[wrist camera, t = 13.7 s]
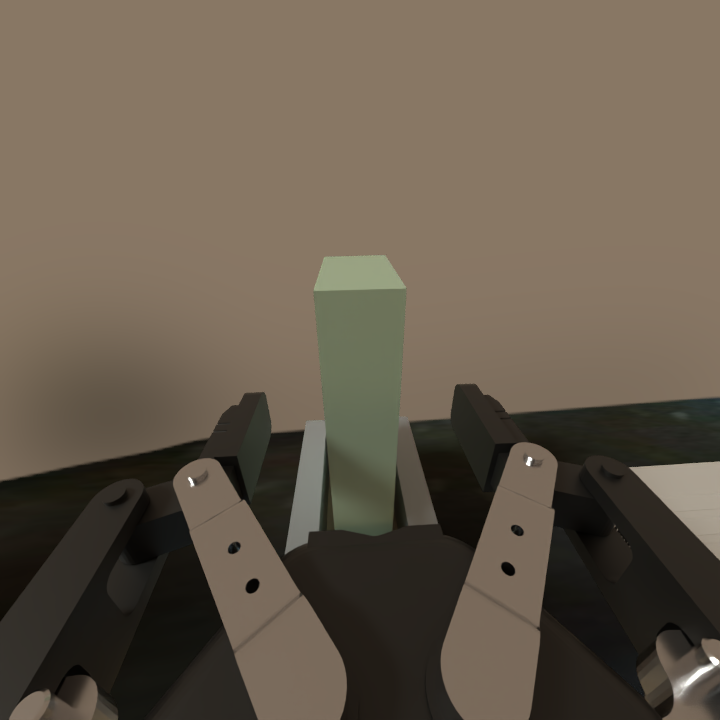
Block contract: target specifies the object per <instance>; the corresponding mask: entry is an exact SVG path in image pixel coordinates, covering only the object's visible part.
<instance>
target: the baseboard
mask: <svg viewBox="0 0 720 720" xmlns="http://www.w3.org/2000/svg"><path fill="white" fill-rule="evenodd" d="M630 469H631V470H632V471H633V472H634V473H635V474H636V475H637V476H638V477H639V478H640V479H641V480H642V481H643V482H644V483H645V484H646V485H647V486H648V487H649V488H650V489H651V490H652V491H653V492H654V493H655V494H656V495H657V496H658V497H659V498H660V499H661V500H662V501H663V502H664V503H665V504H666V506H667V507H668V508H669V509H670V510H671V511H672V512H673V513H674V514H675V515H676V516H677V517H678V518H679V519H680V520H681V521H682V522H683V523H684V524H685V525H686V526H687V527H688V528H689V529H690V530H691V531H692V532H693V533H694V534H695V535H696V536H697V537H698V538H699V539H700V541H701V542H702V543H703V544H704V545H705V546H706V547H707V548H708V549H709V550H710V551H711V552H712V553H713V554H714V555H715V556H716V557H717V558H718V559H719V560H720V462H707V463H691V464H676V465H661V466H645V467H630ZM615 529H616V530H617V531H618V533H619V534H620V535H621V537H622V538H623V539H624V540H625V542H626V543H627V544H628V546H629V547H630V545H629V543H628V542H627V540H626V539H625V538H624V536H623V535H622V534H621V532H620V531H619V530H618V528H617V527H616V526H615ZM630 548H631V547H630Z"/></svg>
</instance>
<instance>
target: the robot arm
mask: <svg viewBox="0 0 720 720" xmlns="http://www.w3.org/2000/svg"><path fill="white" fill-rule="evenodd" d="M451 424H452V427H453V430H454V432H455V434H456V436H457V438H458V440H459V442H460V445H461V447H462V449H463V451H464V453H465V455H466V457H467V459H468V461H469V464H470V466H471V468H472V470H473V472H474V474H475V476H476V478H477V480H478V483H479V485H480V487H481V489H482V491H483V492H493V491H494V492H495V496H494V499H493V502H492V504H491V507H490V510H489V513H488V516H487V519H486V522H485V525H484V528H483V531H482V534H481V537H480V539H479V542H478V545H477V548H476V549H474V548H473V547H472V546H470V545H468V544H466V543H465V542H463V541H461V540H458V539H456V538H453V537H450V536H446V535H443V533H442V529H441V526H440V524H427V525H411V526H406V527H403V528H400V529H397V530H394V531H391V532H388V533H385V534H382V535H378V536H371V535H366V534H361V533H356V532H351V531H346V530H328V531H311V532H309V535H308V543H306V544H303V545H301V546H298V547H296V548H294V549H293V550H291V551H289V552H288V553H286V554H285V555H284V556H282V557H281V558H279V556H278V555H277V553H276V551H275V550H274V548H273V546H272V545H271V543H270V541H269V540H268V538H267V536H266V534H265V533H264V531H263V529H262V528H261V526H260V524H259V523H258V521H257V519H256V518H255V516H254V514H253V513H252V511H251V509H250V508H249V506H248V504H251V501H252V498H253V494H254V491H255V487H256V484H257V480H258V477H259V474H260V470H261V467H262V463H263V460H264V457H265V453H266V450H267V446H268V443H269V439H270V436H271V420H270V415H269V409H268V404H267V399H266V395H265V393H264V392H256V393H245V394H244V396H243V398H242V400H241V402H240V404H239V405H234V406H231V407H230V408H229V409H228V410H227V411H225V412H224V413H223V414H222V416H221V418H220V420H219V421H218V425H216V427H215V429H214V432H213V433H212V435H211V436H210V438H209V440H208V442H207V444H206V445H205V447H204V449H203V451H202V453H201V455H200V457H199V458H198V460H196V461H193V462H191V463H189V464H187V465H186V466H184V467H183V468H182V469H181V470H180V471H179V472H178V473H177V474H176V476H175V478H174V480H171V481H168V482H165V483H161V484H158V485H155V486H151V487H148V488H145V487H144V485H143V483H142V482H141V481H139V480H137V479H125V480H121V481H118V482H115V483H113V484H111V485H109V486H107V487H106V488H104V489H103V490H101V491H100V492H99V493H98V494H96V495H95V496H94V497H93V499H92V500H91V501H90V502H89V504H88V505H87V506H86V508H85V509H84V510H83V512H82V513H81V514H80V516H79V517H78V518H77V520H76V521H75V522H74V524H73V525H72V526H71V528H70V529H69V530H68V532H67V533H66V534H65V536H64V537H63V538H62V540H61V541H60V543H59V544H58V545H57V547H56V548H55V549H54V551H53V552H52V553H51V555H50V556H49V557H48V559H47V560H46V561H45V563H44V564H43V565H42V567H41V568H40V569H39V571H38V572H37V573H36V575H35V576H34V577H33V579H32V580H31V581H30V583H29V584H28V585H27V587H26V588H25V589H24V591H23V592H22V593H21V595H20V596H19V597H18V599H17V600H16V601H15V603H14V604H13V605H12V607H11V608H10V609H9V611H8V612H7V613H6V615H5V616H4V617H3V619H2V620H1V622H0V720H118V707H117V703H116V701H115V699H114V698H113V697H112V696H111V695H110V691H111V689H112V687H113V684H114V682H115V679H116V677H117V675H118V672H119V670H120V668H121V665H122V663H123V660H124V658H125V656H126V653H127V651H128V649H129V646H130V644H131V641H132V639H133V637H134V634H135V632H136V630H137V627H138V625H139V622H140V620H141V618H142V615H143V613H144V611H145V608H146V606H147V603H148V601H149V599H150V596H151V594H152V592H153V589H154V587H155V584H156V582H157V580H158V577H159V575H160V573H161V570H162V568H163V565H164V563H165V561H166V558H167V556H168V554H169V552H171V551H174V550H177V549H179V548H182V547H185V546H188V545H190V544H193V543H194V546H195V549H196V551H197V554H198V557H199V559H200V562H201V565H202V567H203V570H204V573H205V575H206V578H207V581H208V584H209V586H210V589H211V592H212V594H213V597H214V600H215V602H216V605H217V608H218V611H219V613H220V616H221V619H222V621H223V625H222V626H221V627H220V628H219V630H218V631H217V632H216V633H215V634H214V635H213V637H212V638H211V639H210V640H209V641H208V643H207V644H206V645H205V646H204V647H203V649H202V650H201V651H200V652H199V653H198V655H197V656H196V657H195V658H194V659H193V661H192V662H191V663H190V664H189V665H188V666H187V668H186V669H185V670H184V671H183V672H182V674H181V675H180V676H179V677H178V678H177V680H176V681H175V682H174V683H173V684H172V686H171V687H170V688H169V689H168V690H167V691H166V693H165V694H164V695H163V696H162V697H161V699H160V700H159V701H158V702H157V703H156V705H155V706H154V707H153V708H152V709H151V711H150V712H149V713H148V714H147V715H146V717H145V718H144V719H143V720H720V560H719V559H718V558H717V557H716V556H715V555H714V554H713V553H712V552H711V551H710V550H709V549H708V548H707V547H706V546H705V545H704V544H703V543H702V542H701V541H700V539H699V538H698V537H697V536H696V535H695V534H694V533H693V532H692V531H691V530H690V529H689V528H688V527H687V526H686V525H685V524H684V523H683V522H682V521H681V520H680V519H679V518H678V517H677V516H676V515H675V514H674V513H673V512H672V511H671V510H670V509H669V508H668V507H667V506H666V504H665V503H664V502H663V501H662V500H661V499H660V498H659V497H658V496H657V495H656V494H655V493H654V492H653V491H652V490H651V489H650V488H649V487H648V486H647V485H646V484H645V483H644V482H643V481H642V480H641V479H640V478H639V477H638V476H637V475H636V474H635V473H634V472H633V471H632V470H631V469H630V468H629V467H627V466H626V465H624V464H623V463H621V462H619V461H617V460H615V459H612V458H609V457H606V456H599V455H595V456H590V457H588V458H587V459H586V460H585V463H584V465H583V466H582V465H577V464H571V463H566V462H561V461H557V460H556V458H555V457H554V456H553V455H552V454H551V453H550V452H549V451H548V450H546V449H545V448H543V447H541V446H539V445H536V444H533V443H529V441H528V440H527V439H526V437H525V436H524V435H523V433H522V432H521V431H520V429H519V428H518V427H517V425H516V424H515V423H514V421H513V420H512V419H511V417H510V416H509V415H508V413H507V412H505V409H504V408H503V407H502V405H501V404H500V403H499V402H498V401H497V400H495V399H494V398H492V397H491V396H489V395H483V394H482V392H481V391H480V389H479V388H478V386H477V385H476V384H457V385H456V386H455V390H454V397H453V403H452V409H451ZM553 526H557V527H561V528H563V529H564V530H565V532H566V534H567V535H568V537H569V539H570V540H571V542H572V544H573V545H574V547H575V549H576V550H577V552H578V554H579V555H580V557H581V559H582V560H583V562H584V564H585V565H586V567H587V569H588V570H589V572H590V574H591V575H592V577H593V579H594V581H595V582H596V584H597V586H598V587H599V589H600V591H601V592H602V594H603V596H604V597H605V599H606V601H607V602H608V604H609V606H610V607H611V609H612V611H613V612H614V614H615V616H616V617H617V619H618V621H619V622H620V624H621V626H622V627H623V629H624V631H625V632H626V634H627V636H628V637H629V639H630V641H631V642H632V644H633V646H634V647H635V649H636V651H637V652H638V654H639V656H638V658H637V662H636V670H637V675H638V678H639V681H640V683H641V685H642V687H643V690H644V697H645V699H644V698H643V697H642V696H641V695H640V694H639V693H638V692H637V691H636V690H635V689H634V688H633V687H632V686H631V685H629V684H628V683H627V682H626V681H625V680H624V679H623V678H622V677H620V676H619V675H618V674H617V673H616V672H615V671H614V670H613V669H611V668H610V667H609V666H608V665H607V664H606V663H605V662H603V661H602V660H601V659H600V658H599V657H598V656H597V655H596V654H594V653H593V652H592V651H591V650H590V649H589V648H588V647H586V646H585V645H584V644H583V643H582V642H581V641H580V640H579V639H577V638H576V637H575V636H574V635H573V634H572V633H571V632H569V631H568V630H567V629H566V628H565V627H564V626H563V625H562V624H560V623H559V622H558V621H557V620H556V619H555V618H554V617H552V616H551V615H550V614H549V613H548V612H547V611H546V610H545V609H543V608H542V601H543V593H544V586H545V579H546V572H547V565H548V557H549V550H550V543H551V536H552V528H553ZM615 526H616V527H617V528H618V530H619V531H620V532H621V534H622V535H623V536H624V538H625V539H626V540H627V542H628V543H629V545H630V547H631V548H630V547H629V546H628V544H627V543H626V542H625V540H624V539H623V538H622V537H621V535H620V534H619V533H618V531H617V530H616V529H615Z"/></svg>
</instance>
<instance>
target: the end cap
mask: <svg viewBox="0 0 720 720" xmlns="http://www.w3.org/2000/svg"><path fill="white" fill-rule="evenodd" d="M329 474H330V473H329V461H328V450H327V438H326V427H325V420H315V421H306V426H305V432H304V439H303V445H302V451H301V457H300V463H299V470H298V476H297V482H296V488H295V494H294V501H293V507H292V513H291V519H290V525H289V532H288V538H287V544H286V550H285V554H286V553H288V552H289V551H291V550H293V549H294V548H296V547H298V546H301V545H303V544H306V543H308V535H309V532H311V531H327V511H328V490H329ZM394 510H395V516H396V522H397V528H398V529H400V528H403V527H406V526H411V525H427V524H438V522H437V519H436V515H435V512H434V508H433V505H432V501H431V498H430V494H429V491H428V487H427V484H426V480H425V477H424V473H423V470H422V466H421V463H420V459H419V456H418V452H417V449H416V445H415V442H414V438H413V435H412V431H411V428H410V424H409V421H408V418H407V417H399V426H398V444H397V461H396V478H395V495H394Z"/></svg>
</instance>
